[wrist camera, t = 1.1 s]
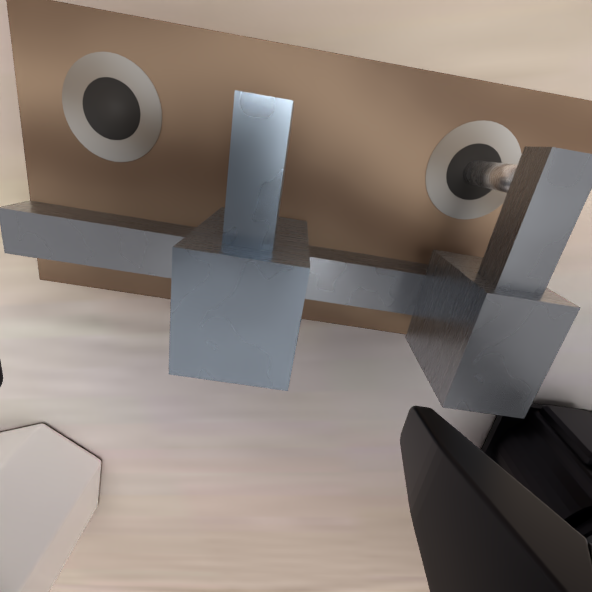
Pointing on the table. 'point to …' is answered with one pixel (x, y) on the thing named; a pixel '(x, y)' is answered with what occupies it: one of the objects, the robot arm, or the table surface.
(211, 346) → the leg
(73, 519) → the jar
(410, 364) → the table surface
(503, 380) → the beam
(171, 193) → the hole plate
